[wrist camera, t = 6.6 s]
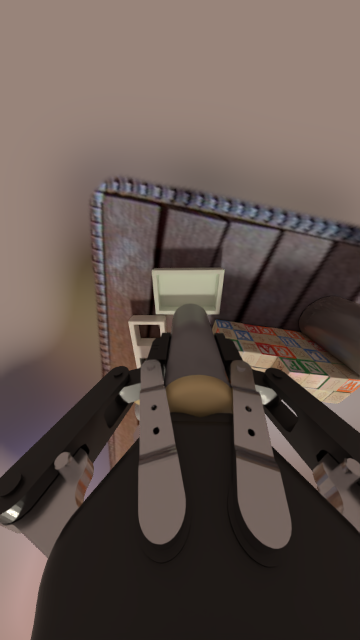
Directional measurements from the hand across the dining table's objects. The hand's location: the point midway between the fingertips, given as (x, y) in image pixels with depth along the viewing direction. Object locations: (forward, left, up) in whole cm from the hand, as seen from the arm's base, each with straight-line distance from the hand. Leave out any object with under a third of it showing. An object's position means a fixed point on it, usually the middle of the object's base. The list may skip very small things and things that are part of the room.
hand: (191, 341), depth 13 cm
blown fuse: (0, 0, -4) cm, 4 cm away
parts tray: (0, 0, -17) cm, 17 cm away
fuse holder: (+8, +13, -17) cm, 23 cm away
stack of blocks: (-16, +11, -18) cm, 26 cm away
